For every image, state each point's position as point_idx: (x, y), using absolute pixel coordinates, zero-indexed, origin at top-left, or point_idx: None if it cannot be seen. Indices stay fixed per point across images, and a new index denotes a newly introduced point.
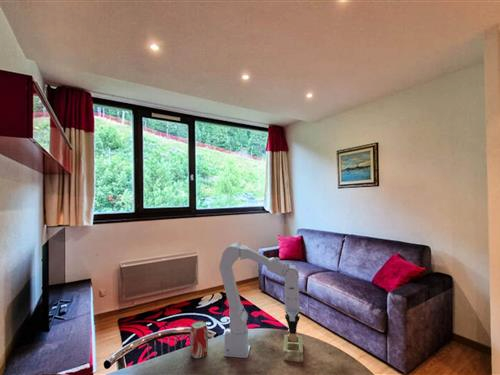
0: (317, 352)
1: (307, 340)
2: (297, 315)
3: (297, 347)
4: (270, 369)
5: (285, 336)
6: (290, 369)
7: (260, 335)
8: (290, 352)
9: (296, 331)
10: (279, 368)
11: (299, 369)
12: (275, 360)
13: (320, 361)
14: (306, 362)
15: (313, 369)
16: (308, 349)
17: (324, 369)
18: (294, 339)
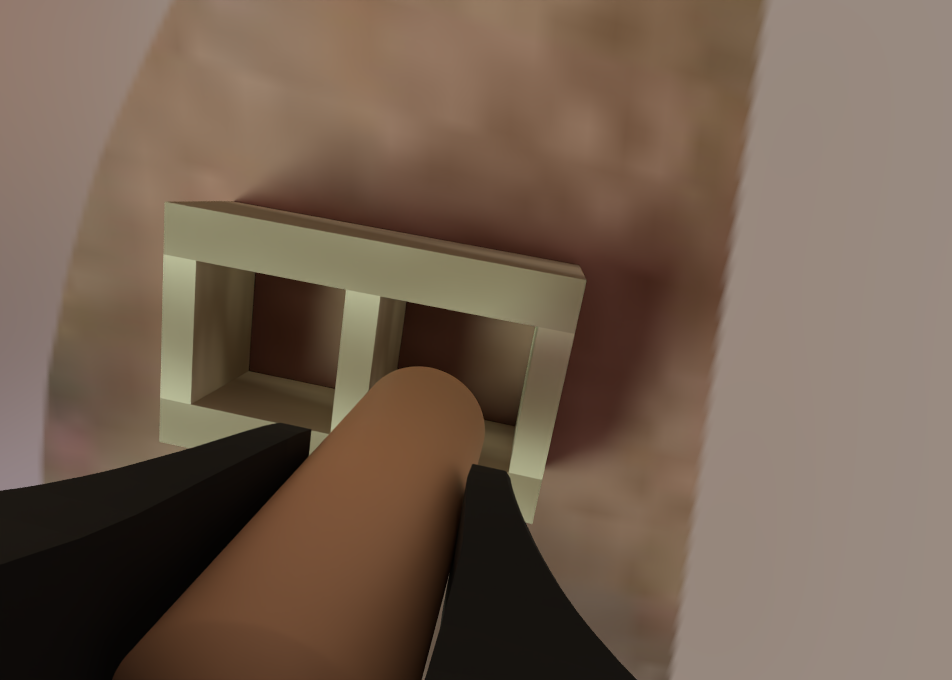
0: (399, 33)
1: (149, 109)
2: (28, 572)
3: (390, 305)
4: (664, 612)
5: (206, 436)
6: (689, 430)
7: None
8: (548, 437)
9: (406, 424)
10: (659, 531)
11: (701, 337)
12: None
13: (584, 41)
14: (588, 229)
15: (723, 174)
16: (339, 142)
17: (743, 29)
18: (478, 425)
